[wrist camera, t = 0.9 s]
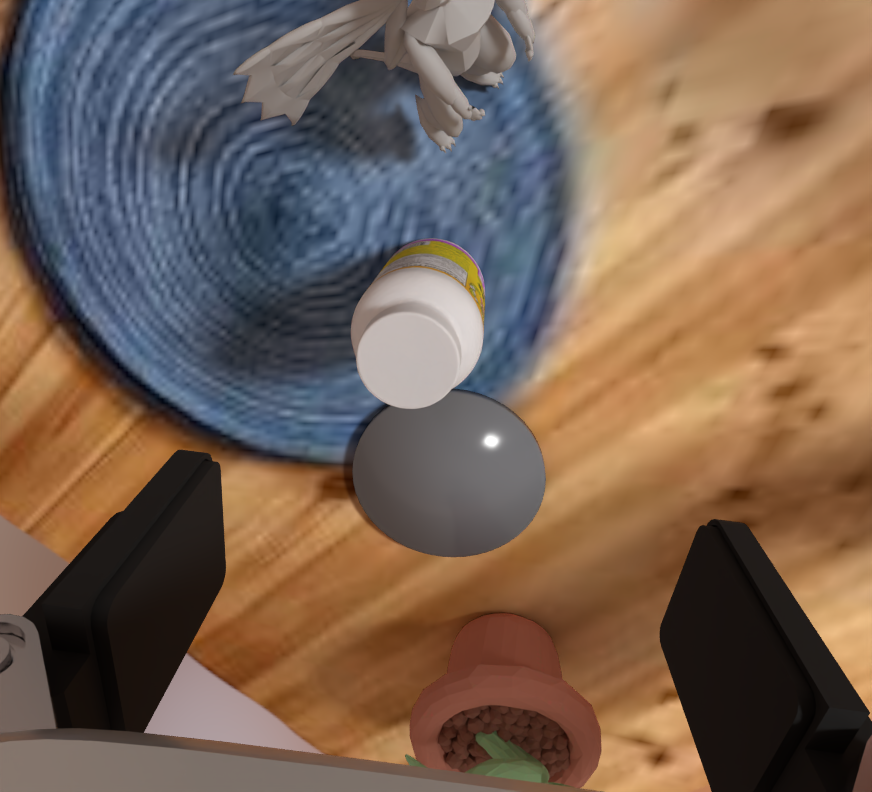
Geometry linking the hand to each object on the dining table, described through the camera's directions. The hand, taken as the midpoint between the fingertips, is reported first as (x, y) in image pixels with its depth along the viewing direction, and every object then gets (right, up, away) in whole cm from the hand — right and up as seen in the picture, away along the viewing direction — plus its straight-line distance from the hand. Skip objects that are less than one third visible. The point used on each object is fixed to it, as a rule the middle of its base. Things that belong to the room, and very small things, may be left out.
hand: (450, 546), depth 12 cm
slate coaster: (+1, -3, +32) cm, 32 cm away
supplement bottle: (0, +10, +26) cm, 28 cm away
